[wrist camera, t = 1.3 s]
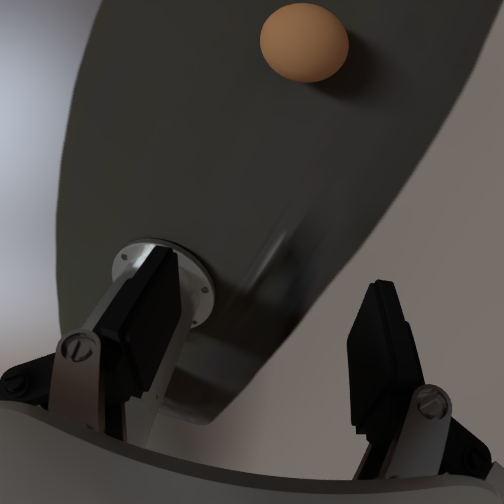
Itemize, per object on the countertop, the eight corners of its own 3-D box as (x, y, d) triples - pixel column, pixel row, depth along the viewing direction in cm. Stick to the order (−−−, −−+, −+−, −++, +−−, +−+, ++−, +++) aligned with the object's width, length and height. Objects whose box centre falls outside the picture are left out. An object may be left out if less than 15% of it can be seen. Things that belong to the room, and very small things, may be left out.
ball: (325, 93, 22) (333, 99, 17) (254, 65, 21) (240, 63, 16) (353, 30, 18) (369, 18, 13) (280, 1, 18) (274, -19, 13)
